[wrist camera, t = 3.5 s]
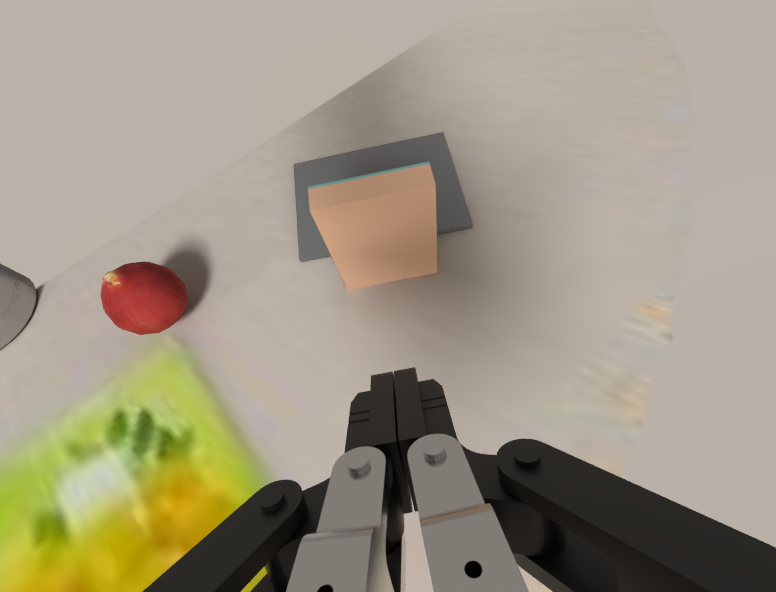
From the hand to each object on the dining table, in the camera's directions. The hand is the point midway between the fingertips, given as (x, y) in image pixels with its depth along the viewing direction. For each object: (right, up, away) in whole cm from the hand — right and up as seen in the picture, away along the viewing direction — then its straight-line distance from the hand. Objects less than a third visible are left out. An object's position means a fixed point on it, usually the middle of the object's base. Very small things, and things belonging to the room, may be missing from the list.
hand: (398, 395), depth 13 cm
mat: (-1, +13, +25) cm, 29 cm away
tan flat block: (0, +5, +21) cm, 22 cm away
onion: (-20, +1, +22) cm, 30 cm away
